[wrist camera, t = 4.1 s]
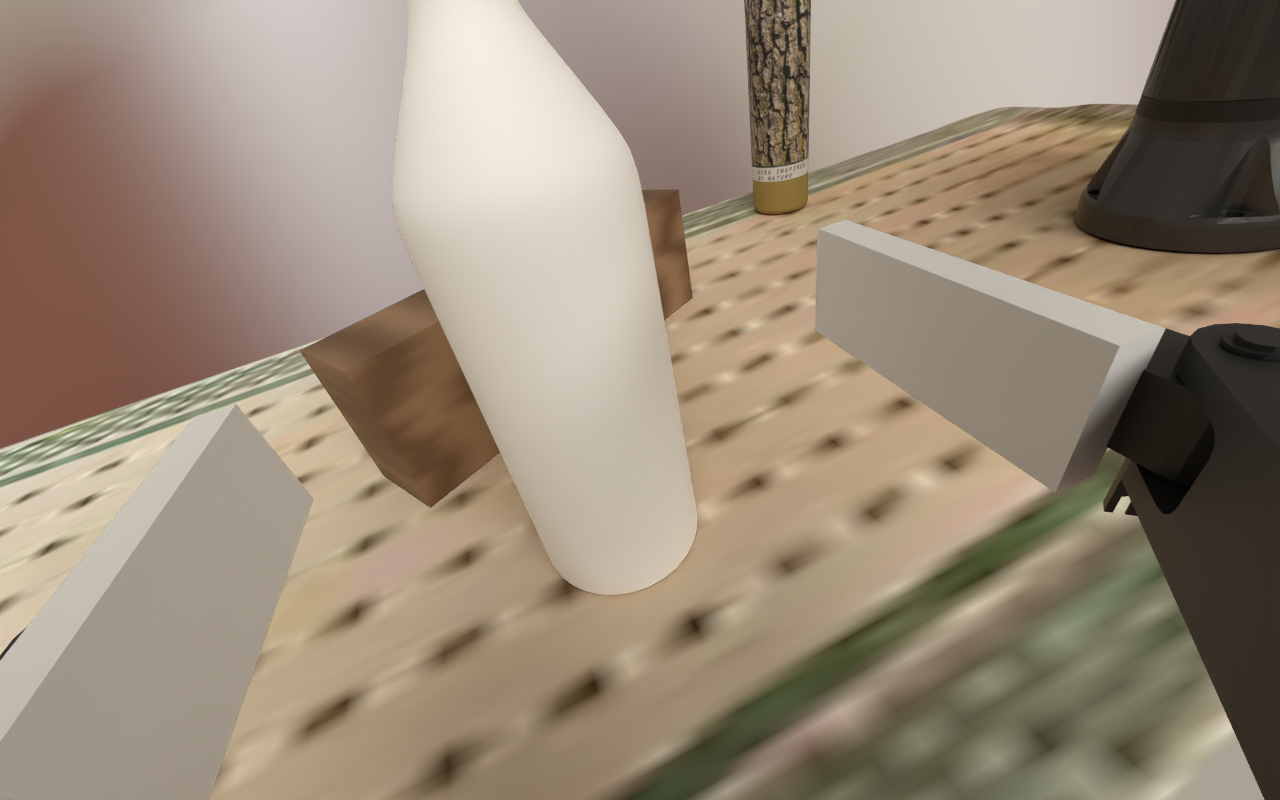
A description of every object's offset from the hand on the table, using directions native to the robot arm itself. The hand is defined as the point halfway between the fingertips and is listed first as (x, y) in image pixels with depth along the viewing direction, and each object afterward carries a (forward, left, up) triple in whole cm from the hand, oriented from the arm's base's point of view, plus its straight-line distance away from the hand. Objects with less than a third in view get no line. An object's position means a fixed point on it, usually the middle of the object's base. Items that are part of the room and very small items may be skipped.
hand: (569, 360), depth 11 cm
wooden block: (0, -26, -15) cm, 30 cm away
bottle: (0, -8, -15) cm, 17 cm away
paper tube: (-34, -50, -15) cm, 62 cm away
